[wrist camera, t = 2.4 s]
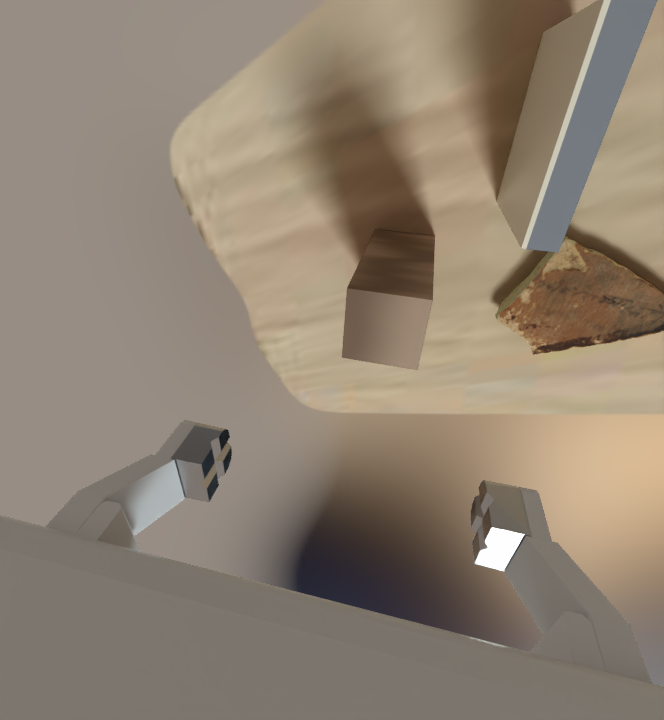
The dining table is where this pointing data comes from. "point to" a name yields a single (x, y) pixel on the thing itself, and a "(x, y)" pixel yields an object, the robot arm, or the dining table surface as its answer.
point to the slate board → (568, 117)
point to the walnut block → (390, 300)
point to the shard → (581, 302)
